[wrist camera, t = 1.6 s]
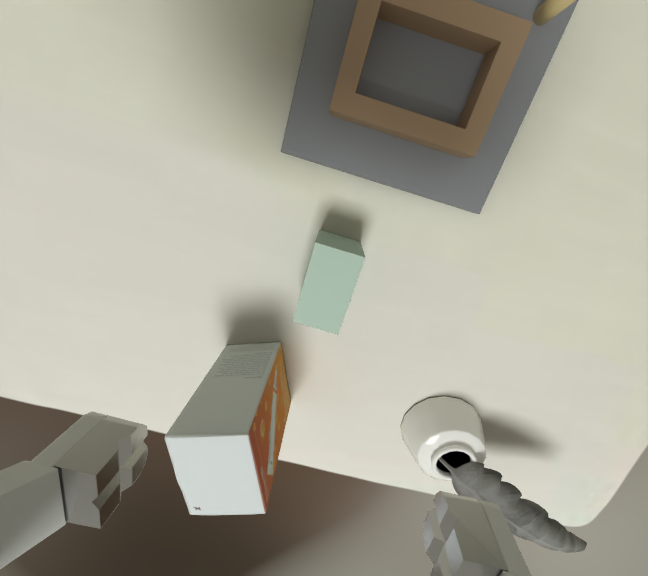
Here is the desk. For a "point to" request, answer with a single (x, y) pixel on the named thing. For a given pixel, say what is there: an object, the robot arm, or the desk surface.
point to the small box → (232, 432)
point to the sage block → (329, 282)
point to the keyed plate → (421, 89)
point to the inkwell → (475, 468)
